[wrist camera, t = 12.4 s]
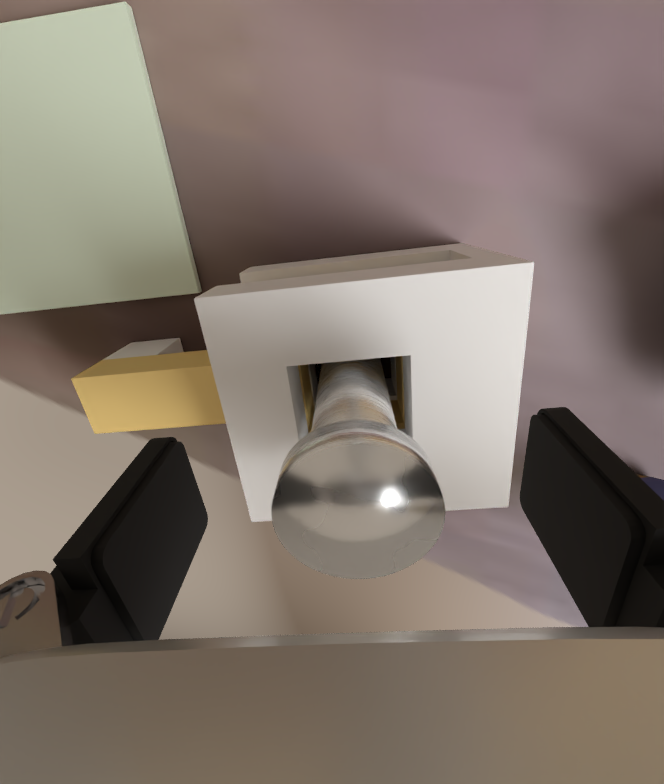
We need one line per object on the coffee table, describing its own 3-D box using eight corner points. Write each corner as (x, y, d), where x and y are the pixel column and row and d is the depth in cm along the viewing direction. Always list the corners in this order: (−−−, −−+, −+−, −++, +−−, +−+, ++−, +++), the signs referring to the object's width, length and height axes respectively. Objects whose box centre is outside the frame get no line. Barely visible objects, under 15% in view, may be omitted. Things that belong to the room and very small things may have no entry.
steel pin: (308, 312, 22) (256, 452, 9) (386, 304, 21) (446, 437, 9) (317, 383, 24) (286, 582, 11) (390, 376, 23) (443, 574, 11)
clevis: (110, 282, 21) (-23, 321, 14) (461, 242, 20) (534, 262, 12) (163, 435, 26) (83, 531, 18) (456, 412, 24) (508, 506, 16)
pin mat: (-121, 50, 17) (-134, 46, 17) (131, 7, 16) (125, 1, 16) (3, 312, 22) (-5, 314, 22) (202, 291, 21) (198, 293, 21)
